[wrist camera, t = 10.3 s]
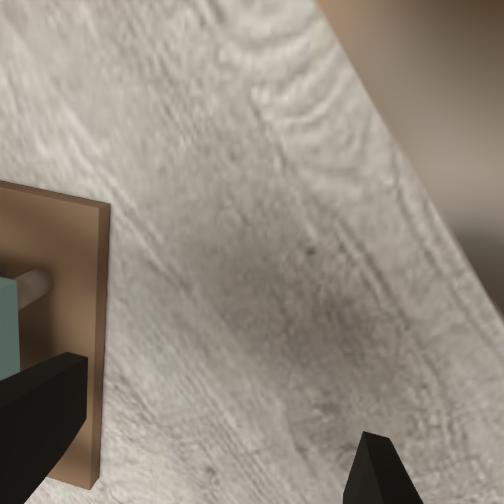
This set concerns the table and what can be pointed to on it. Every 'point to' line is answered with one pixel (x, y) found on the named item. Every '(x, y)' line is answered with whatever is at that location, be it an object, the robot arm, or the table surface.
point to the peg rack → (60, 297)
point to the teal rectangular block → (9, 329)
